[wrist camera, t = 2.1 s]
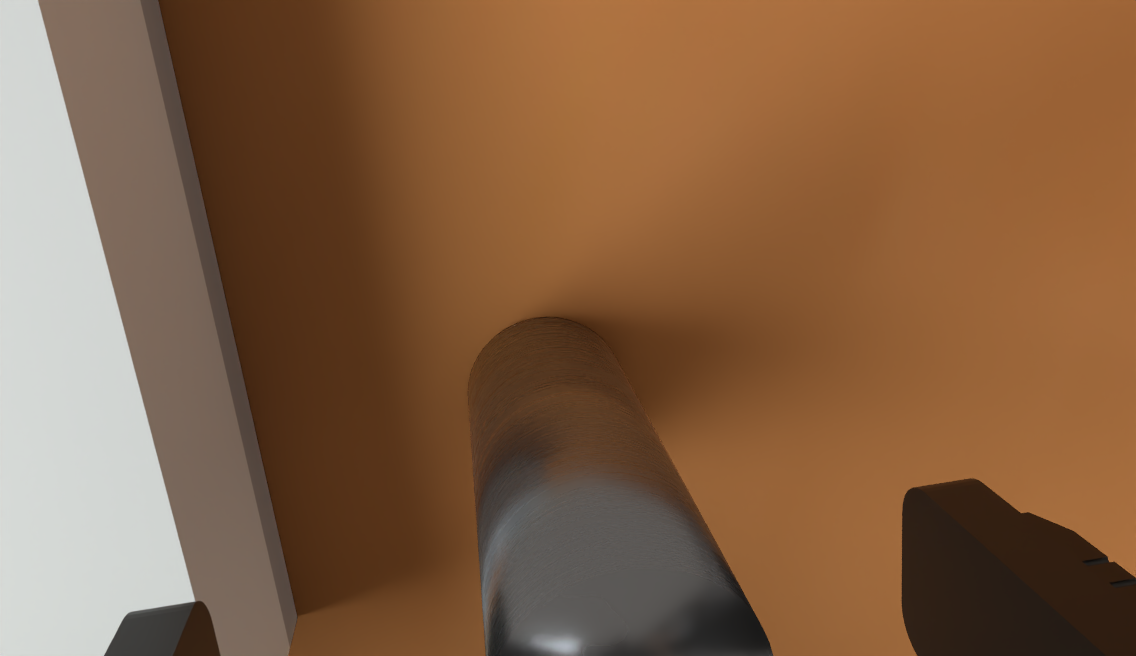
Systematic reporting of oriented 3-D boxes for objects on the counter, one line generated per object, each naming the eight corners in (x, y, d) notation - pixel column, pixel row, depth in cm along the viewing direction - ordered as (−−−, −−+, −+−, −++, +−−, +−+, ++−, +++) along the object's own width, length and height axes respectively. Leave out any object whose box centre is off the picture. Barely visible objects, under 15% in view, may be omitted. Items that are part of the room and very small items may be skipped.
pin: (614, 306, 18) (769, 547, 10) (628, 451, 19) (782, 787, 10) (457, 329, 18) (470, 595, 9) (479, 474, 19) (508, 838, 10)
